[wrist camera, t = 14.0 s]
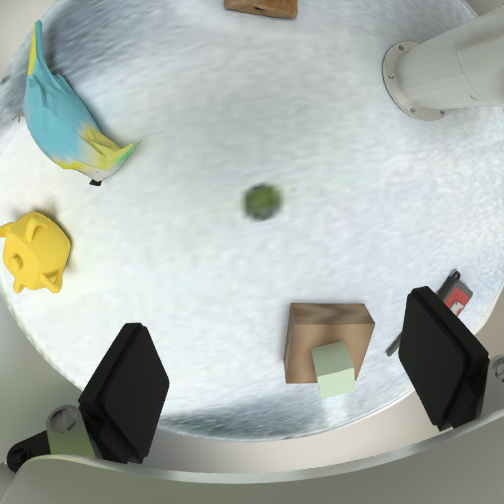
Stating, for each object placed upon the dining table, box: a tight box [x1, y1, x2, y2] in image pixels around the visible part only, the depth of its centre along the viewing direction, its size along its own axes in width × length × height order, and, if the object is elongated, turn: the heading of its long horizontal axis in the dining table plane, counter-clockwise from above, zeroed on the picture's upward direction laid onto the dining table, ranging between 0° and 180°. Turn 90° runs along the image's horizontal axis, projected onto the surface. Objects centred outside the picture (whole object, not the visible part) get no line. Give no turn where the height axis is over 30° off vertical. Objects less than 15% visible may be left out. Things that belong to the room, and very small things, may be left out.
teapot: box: [0, 212, 71, 293], centre depth 36 cm, size 14×13×10 cm
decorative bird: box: [12, 20, 141, 186], centre depth 29 cm, size 14×30×9 cm, turn 39°
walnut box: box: [284, 303, 375, 383], centre depth 43 cm, size 12×12×6 cm
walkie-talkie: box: [387, 271, 473, 356], centre depth 43 cm, size 9×4×20 cm
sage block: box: [311, 340, 355, 399], centre depth 38 cm, size 5×5×6 cm
